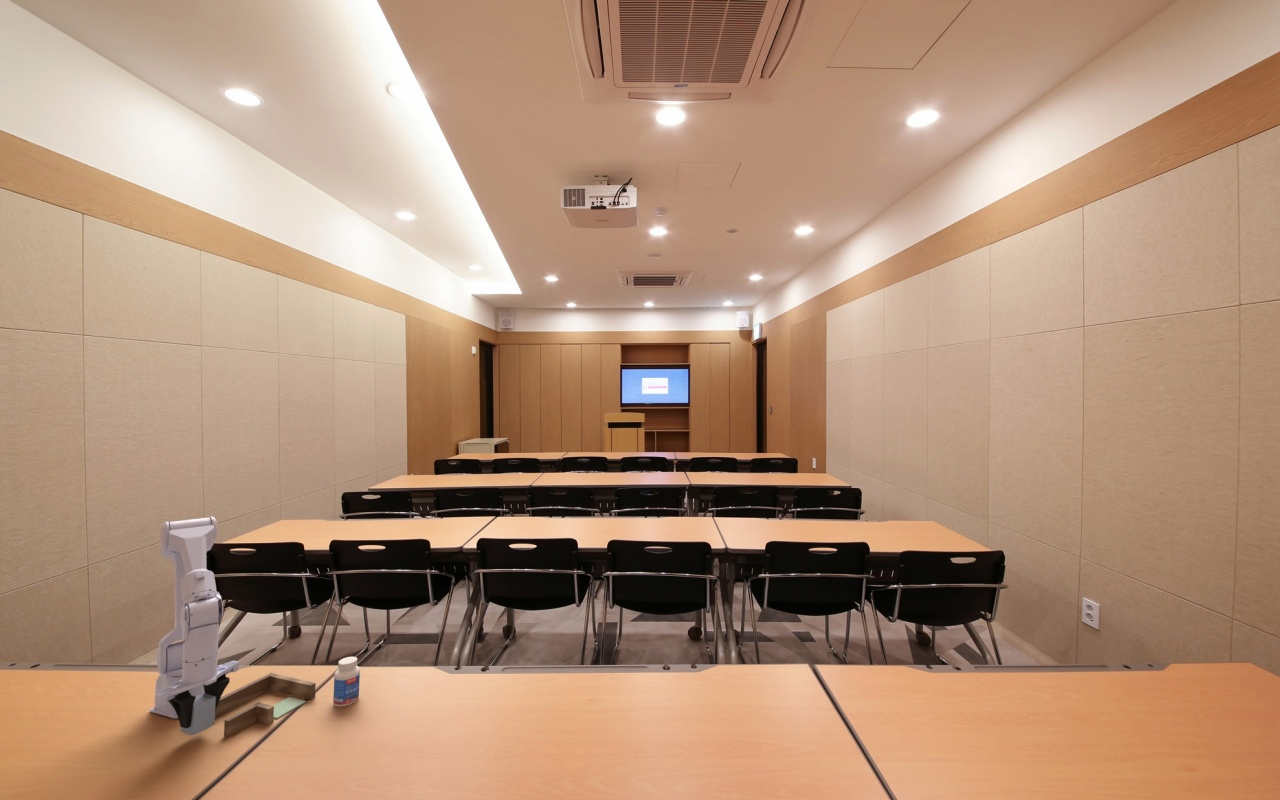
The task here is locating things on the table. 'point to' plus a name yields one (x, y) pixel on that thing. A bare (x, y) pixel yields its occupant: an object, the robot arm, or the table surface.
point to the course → (259, 710)
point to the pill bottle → (346, 682)
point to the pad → (286, 706)
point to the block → (201, 714)
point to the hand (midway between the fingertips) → (198, 720)
